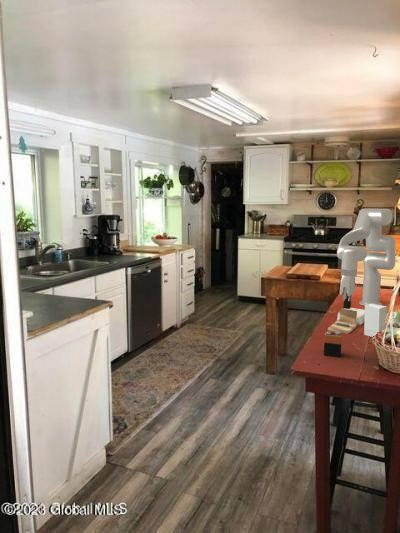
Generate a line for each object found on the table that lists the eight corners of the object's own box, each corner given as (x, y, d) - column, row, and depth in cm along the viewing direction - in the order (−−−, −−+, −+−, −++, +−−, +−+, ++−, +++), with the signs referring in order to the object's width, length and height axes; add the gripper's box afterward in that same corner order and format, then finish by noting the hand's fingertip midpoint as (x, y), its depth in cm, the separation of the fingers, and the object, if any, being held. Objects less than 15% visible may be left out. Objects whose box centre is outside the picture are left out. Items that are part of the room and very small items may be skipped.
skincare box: (386, 337, 202) (388, 306, 200) (378, 339, 199) (380, 308, 197) (370, 332, 209) (372, 302, 207) (362, 334, 206) (364, 304, 203)
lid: (338, 322, 227) (339, 308, 225) (358, 325, 221) (359, 311, 220) (327, 330, 213) (328, 316, 211) (348, 334, 207) (349, 319, 206)
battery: (340, 357, 178) (341, 334, 176) (323, 355, 180) (324, 332, 178) (340, 353, 182) (342, 331, 180) (324, 351, 184) (325, 329, 182)
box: (348, 313, 242) (348, 305, 241) (370, 316, 235) (370, 309, 234) (337, 321, 227) (337, 313, 226) (360, 325, 220) (361, 316, 220)
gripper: (346, 269, 224) (344, 304, 227) (336, 274, 212) (334, 310, 215) (361, 271, 219) (358, 306, 222) (352, 275, 207) (349, 312, 210)
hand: (347, 308), depth 219 cm, fingers closed
